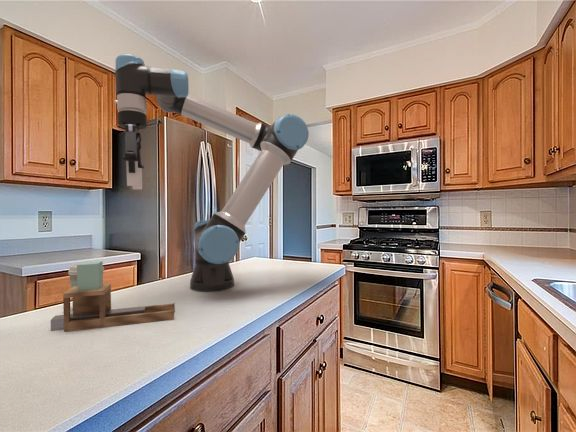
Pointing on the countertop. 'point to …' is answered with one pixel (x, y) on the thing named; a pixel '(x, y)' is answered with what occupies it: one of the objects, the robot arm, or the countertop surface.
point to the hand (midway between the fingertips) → (135, 187)
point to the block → (90, 275)
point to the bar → (94, 316)
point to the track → (102, 302)
